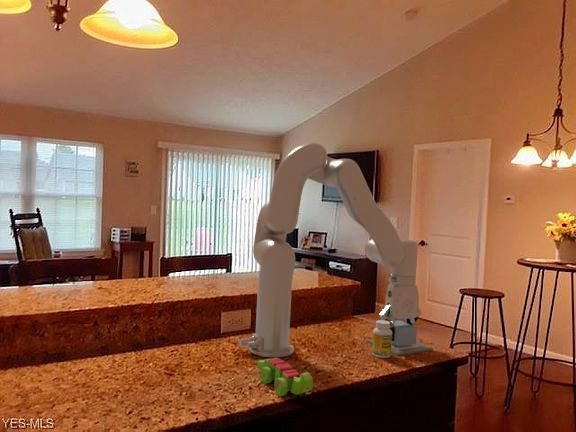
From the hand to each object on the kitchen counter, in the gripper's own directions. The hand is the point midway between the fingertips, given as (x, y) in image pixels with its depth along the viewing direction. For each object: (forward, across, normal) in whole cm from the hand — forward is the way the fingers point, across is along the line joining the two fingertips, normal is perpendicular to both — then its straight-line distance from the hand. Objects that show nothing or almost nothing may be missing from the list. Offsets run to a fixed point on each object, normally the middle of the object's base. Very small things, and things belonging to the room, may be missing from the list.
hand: (399, 338), depth 147 cm
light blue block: (+1, 0, 0) cm, 1 cm away
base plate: (+2, 0, 0) cm, 2 cm away
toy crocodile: (+3, -48, -14) cm, 50 cm away
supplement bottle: (+3, -11, -5) cm, 12 cm away
